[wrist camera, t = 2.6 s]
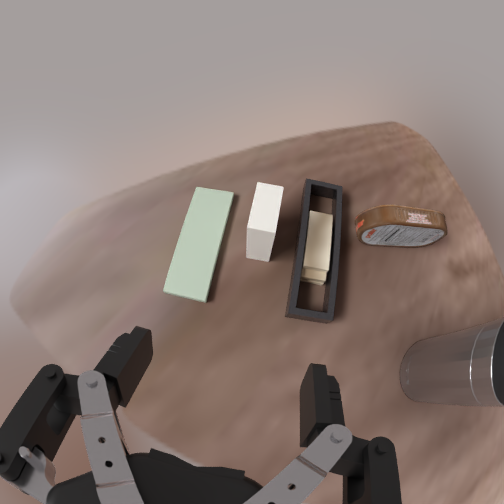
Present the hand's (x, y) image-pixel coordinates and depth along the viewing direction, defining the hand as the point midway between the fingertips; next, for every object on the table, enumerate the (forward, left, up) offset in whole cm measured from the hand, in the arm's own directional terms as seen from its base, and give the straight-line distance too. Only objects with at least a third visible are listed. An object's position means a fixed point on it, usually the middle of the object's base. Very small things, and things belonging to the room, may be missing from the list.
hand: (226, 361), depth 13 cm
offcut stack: (-7, -16, -21) cm, 27 cm away
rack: (-7, -16, -20) cm, 27 cm away
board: (+8, -14, -20) cm, 26 cm away
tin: (-20, -20, -21) cm, 35 cm away
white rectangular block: (0, -16, -20) cm, 26 cm away
